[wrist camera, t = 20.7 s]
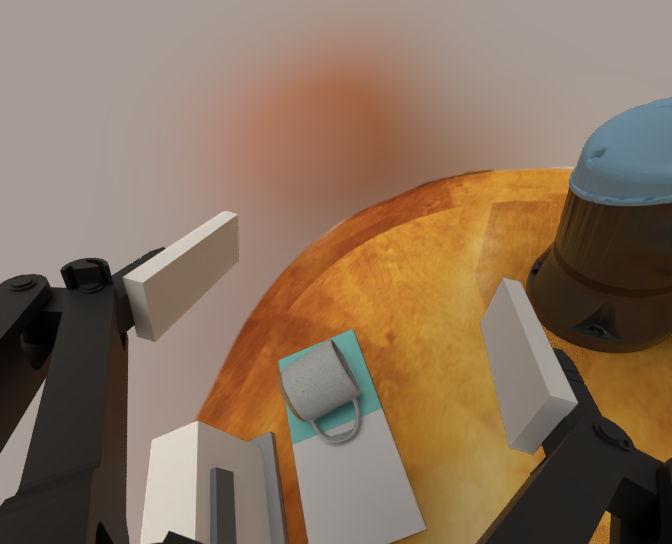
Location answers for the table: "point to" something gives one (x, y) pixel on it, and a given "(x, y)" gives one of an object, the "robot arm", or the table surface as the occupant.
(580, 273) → the robot arm
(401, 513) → the mat
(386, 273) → the table surface
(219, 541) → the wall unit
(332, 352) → the ceramic mug
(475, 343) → the table surface
